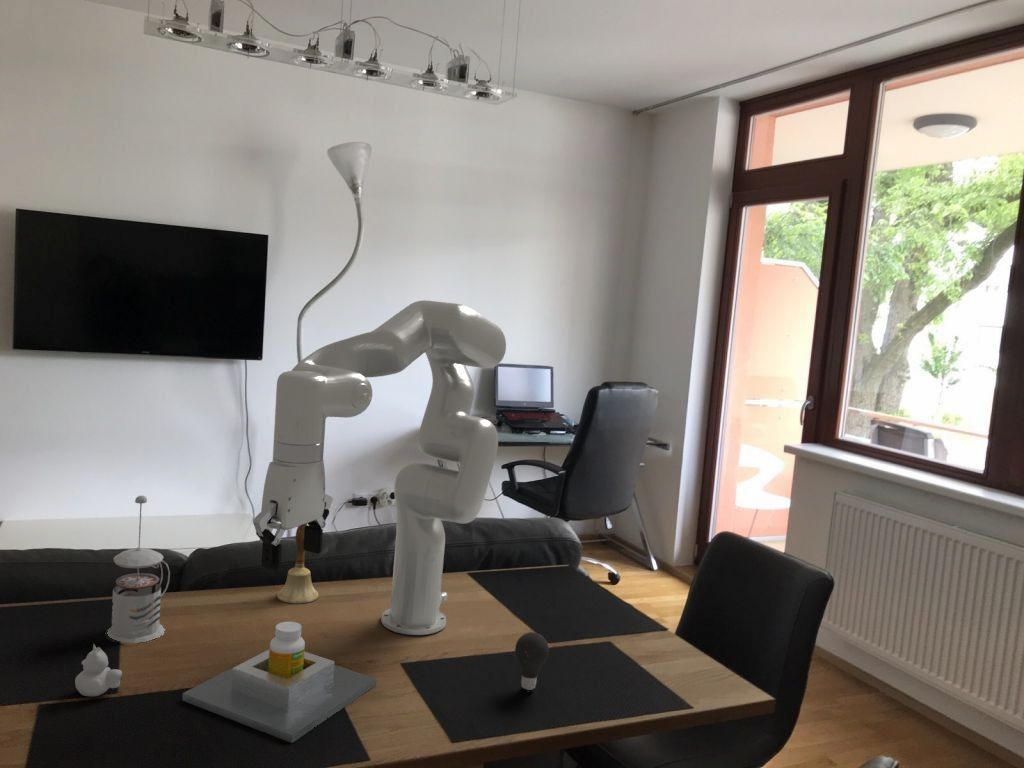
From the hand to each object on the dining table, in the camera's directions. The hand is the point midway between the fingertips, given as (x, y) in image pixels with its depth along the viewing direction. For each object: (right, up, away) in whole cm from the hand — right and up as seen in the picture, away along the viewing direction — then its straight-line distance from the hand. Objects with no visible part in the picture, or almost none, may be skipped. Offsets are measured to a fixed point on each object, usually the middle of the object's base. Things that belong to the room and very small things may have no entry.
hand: (292, 559), depth 132 cm
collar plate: (-2, -22, +2) cm, 22 cm away
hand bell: (-10, -17, +42) cm, 46 cm away
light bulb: (+37, -24, +11) cm, 46 cm away
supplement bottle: (-2, -21, +2) cm, 21 cm away
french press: (-32, -17, +19) cm, 41 cm away
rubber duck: (-29, -20, -3) cm, 35 cm away
